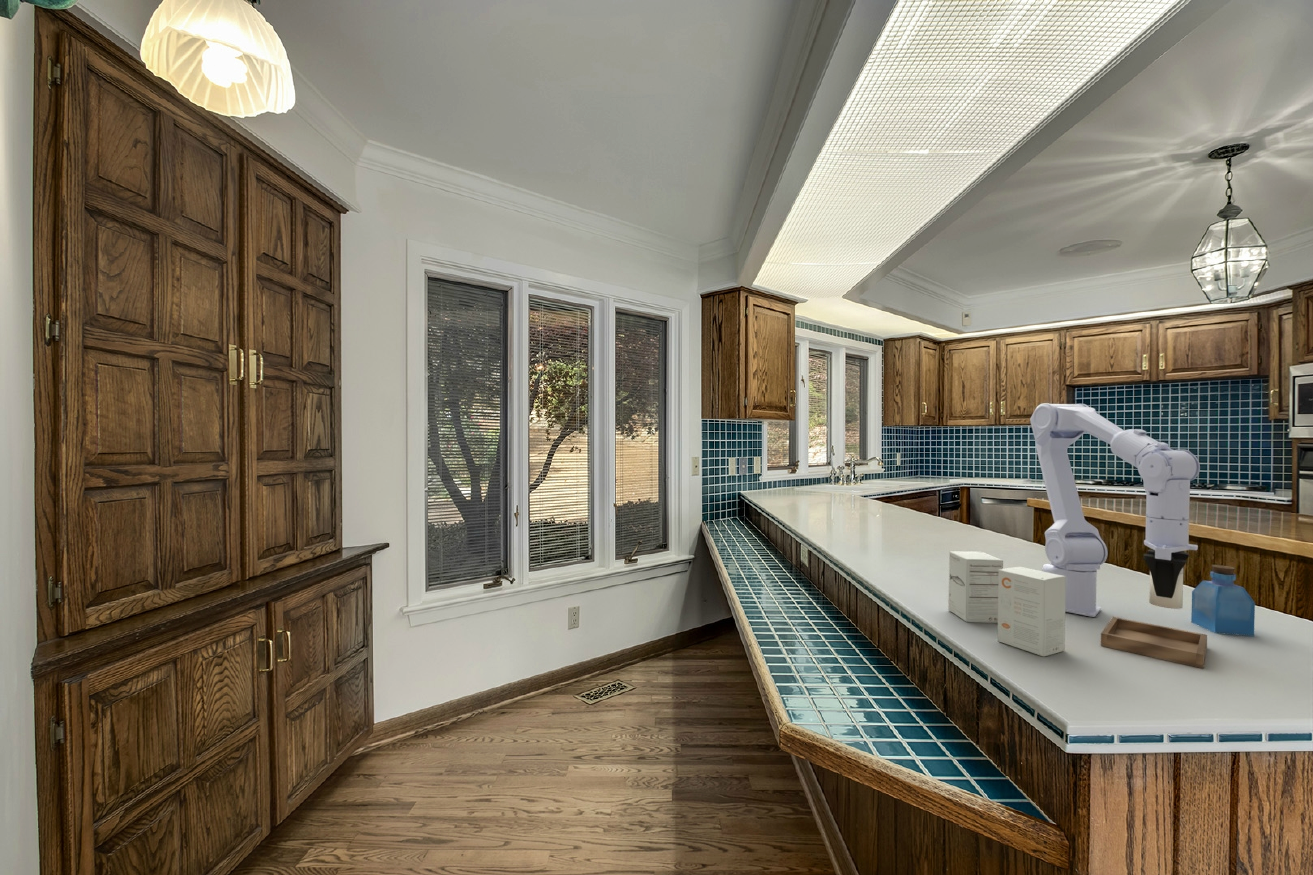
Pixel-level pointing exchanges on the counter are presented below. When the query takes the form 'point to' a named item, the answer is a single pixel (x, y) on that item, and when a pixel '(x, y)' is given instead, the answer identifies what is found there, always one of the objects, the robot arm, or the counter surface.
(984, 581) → the supplement box
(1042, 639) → the small box
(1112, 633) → the walnut tray
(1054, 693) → the counter surface
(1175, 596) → the cylinder
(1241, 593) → the perfume bottle
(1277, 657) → the counter surface
